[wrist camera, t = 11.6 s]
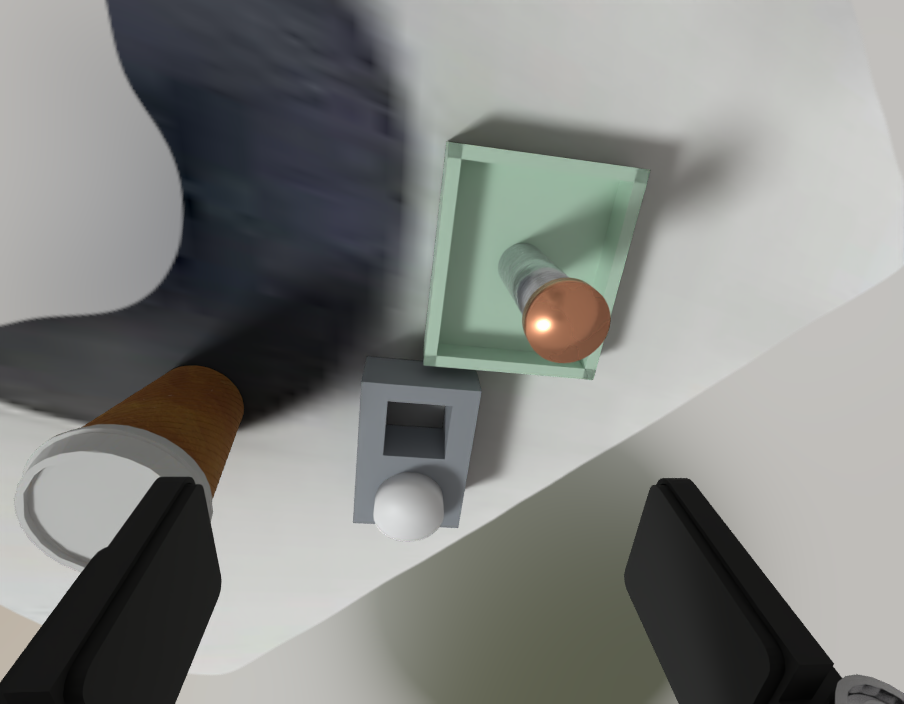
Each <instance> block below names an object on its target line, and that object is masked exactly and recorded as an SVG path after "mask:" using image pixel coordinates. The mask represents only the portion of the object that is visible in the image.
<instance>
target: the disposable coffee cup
mask: <svg viewBox="0 0 904 704" xmlns="http://www.w3.org/2000/svg"><path fill="white" fill-rule="evenodd" d="M243 414H244V405H243V400H242V397H241V395H240V392H239V390H238V389H237V387H236V386H235V385H234V384H233V383H232V382H231V381H230V380H229V379H228V378H227V377H226V376H224V375H223V374H221V373H219V372H217V371H215V370H213V369H210V368H207V367H202V366H196V365H195V366H182V367H178V368H175V369H173V370H171V371H169V372H168V373H166V374H165V375H163V376H162V377H160V378H159V379H157V380H155V381H154V382H152V383H151V384H149V385H147V386H146V387H144V388H143V389H141V390H140V391H138V392H136V393H135V394H133V395H132V396H130V397H129V398H127V399H125V400H124V401H122V402H121V403H119V404H117V405H116V406H114V407H113V408H111V409H110V410H108V411H107V412H105V413H104V414H102V415H100V416H99V417H97V418H95V419H94V420H93V421H91V422H89V423H88V424H86V425H85V426H83V427H81V428H78V429H74V430H70V431H67V432H64V433H62V434H59V435H56V436H55V437H53V438H51V439H50V440H48V441H46V442H45V443H44V444H42V445H41V446H40V447H39V448H38V449H36V450H35V452H34V453H33V454H32V455H31V457H30V458H29V459H28V461H27V463H26V466H25V468H24V471H23V476H22V478H21V480H20V481H19V483H18V484H17V489H16V493H15V497H14V505H15V514H16V516H17V519H18V521H19V524H20V526H21V528H22V529H23V531H24V532H25V534H26V535H27V537H28V538H29V539H30V541H31V542H32V543H33V544H34V545H35V546H36V547H37V548H39V549H40V550H41V551H42V552H43V553H45V554H46V555H47V556H48V557H50V558H52V559H53V560H55V561H57V562H58V563H60V564H62V565H64V566H66V567H68V568H70V569H73V570H75V571H78V572H82V571H83V570H84V568H85V567H86V565H87V564H88V563H89V561H90V560H91V559H92V558H93V557H94V555H95V554H96V553H97V552H98V551H100V550H101V549H103V548H105V547H108V545H109V544H110V543H111V541H112V540H113V538H114V537H115V536H116V534H117V533H118V531H119V530H120V529H121V527H122V526H123V525H124V523H125V522H126V520H127V519H128V518H129V516H130V515H131V513H132V512H133V511H134V509H135V508H136V506H137V505H138V504H139V502H140V501H141V500H142V498H143V497H144V495H145V494H146V493H147V491H148V490H149V488H150V487H151V486H152V484H153V483H154V482H155V480H156V479H157V478H159V477H192V478H193V479H194V481H195V484H201V485H202V486H203V488H204V492H205V497H206V502H207V507H208V512H209V517H210V523H211V518H212V514H213V508H212V498H213V497H214V493H215V491H216V488H217V485H218V483H219V480H220V477H221V475H222V471H223V469H224V466H225V463H226V460H227V458H228V455H229V452H230V450H231V447H232V444H233V442H234V438H235V436H236V433H237V430H238V427H239V425H240V422H241V420H242V417H243Z"/></svg>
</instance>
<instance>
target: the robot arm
mask: <svg viewBox="0 0 904 704" xmlns="http://www.w3.org/2000/svg"><path fill="white" fill-rule="evenodd" d="M624 578H625V585H626V589H627V591H628V593H629V596H630V598H631V600H632V602H633V604H634V607H635V609H636V611H637V613H638V615H639V617H640V620H641V622H642V624H643V626H644V628H645V631H646V633H647V635H648V637H649V639H650V642H651V644H652V646H653V648H654V650H655V653H656V655H657V657H658V659H659V661H660V664H661V666H662V668H663V670H664V672H665V674H666V677H667V679H668V681H669V683H670V685H671V688H672V690H673V692H674V694H675V697H676V699H677V701H678V703H679V704H904V693H902V692H901V691H899V690H897V689H896V688H894V687H892V686H891V685H889V684H887V683H885V682H882V681H880V680H877V679H875V678H872V677H868V676H862V675H851V676H845V677H844V678H842V677H841V676H840V675H839V674H838V672H837V671H836V670H835V668H834V667H833V665H834V663H833V662H832V660H831V659H830V658H829V657H828V655H827V654H826V653H825V651H824V650H823V649H822V648H821V646H820V645H819V644H818V642H817V641H816V640H815V639H814V637H813V636H812V635H811V633H810V632H809V631H808V630H807V628H806V627H805V626H804V624H803V623H802V622H801V621H800V619H799V618H798V617H797V615H796V614H795V613H794V612H793V610H792V609H791V608H790V606H789V605H788V604H787V602H786V601H785V600H784V599H783V598H782V596H781V595H780V593H779V592H778V591H777V590H776V588H775V587H774V586H773V584H772V583H771V582H770V581H769V579H768V578H767V577H766V576H765V574H764V573H763V572H762V570H761V569H760V568H759V566H758V565H757V564H756V563H755V561H754V560H753V559H752V557H751V556H750V555H749V554H748V552H747V551H746V550H745V548H744V547H743V546H742V544H741V543H740V542H739V541H738V539H737V538H736V537H735V536H734V534H733V533H732V532H731V530H730V529H729V528H728V526H727V525H726V524H725V523H724V522H723V520H722V519H721V517H720V516H719V515H718V514H717V512H716V511H715V510H714V509H713V507H712V506H711V505H710V504H709V502H708V501H707V499H706V498H705V497H704V496H703V494H702V493H701V492H700V490H699V489H698V488H697V486H696V485H695V484H694V483H693V482H692V481H691V480H690V479H687V478H662V479H660V480H659V481H658V482H657V484H656V485H653V486H652V487H651V488H650V490H649V493H648V496H647V500H646V503H645V506H644V510H643V513H642V516H641V520H640V523H639V526H638V530H637V533H636V536H635V539H634V543H633V546H632V549H631V553H630V556H629V559H628V563H627V566H626V569H625V574H624ZM220 590H221V574H220V569H219V563H218V558H217V553H216V548H215V543H214V538H213V533H212V528H211V523H210V517H209V512H208V507H207V502H206V497H205V492H204V488H203V486H202V485H201V484H195V481H194V479H193V478H192V477H159V478H157V479H156V480H155V482H154V483H153V484H152V486H151V487H150V488H149V490H148V491H147V493H146V494H145V495H144V497H143V498H142V500H141V501H140V502H139V504H138V505H137V506H136V508H135V509H134V511H133V512H132V513H131V515H130V516H129V518H128V519H127V520H126V522H125V523H124V525H123V526H122V527H121V529H120V530H119V531H118V533H117V534H116V536H115V537H114V538H113V540H112V541H111V543H110V544H109V545H108V547H105V548H103V549H101V550H100V551H98V552H97V553H96V554H95V555H94V557H93V558H92V559H91V560H90V561H89V563H88V564H87V565H86V567H85V568H84V570H83V571H82V572H81V574H80V575H79V576H78V578H77V579H76V580H75V582H74V583H73V584H72V586H71V587H70V589H69V590H68V591H67V593H66V594H65V595H64V597H63V598H62V599H61V601H60V602H59V603H58V605H57V606H56V608H55V609H54V610H53V612H52V613H51V614H50V616H49V617H48V618H47V620H46V621H45V622H44V624H43V625H42V627H41V628H40V629H39V631H38V632H37V633H36V635H35V636H34V637H33V639H32V640H31V641H30V643H29V644H28V646H27V647H26V649H25V650H24V651H23V652H22V654H21V655H20V656H19V658H18V659H17V660H16V662H15V663H14V665H13V666H12V667H11V669H10V670H9V671H8V673H7V674H6V675H5V677H4V678H3V680H2V681H1V682H0V704H175V702H176V700H177V697H178V695H179V693H180V690H181V688H182V685H183V683H184V680H185V678H186V676H187V673H188V671H189V668H190V666H191V663H192V661H193V659H194V656H195V654H196V651H197V649H198V646H199V644H200V641H201V639H202V637H203V634H204V632H205V629H206V627H207V624H208V622H209V619H210V617H211V615H212V612H213V610H214V607H215V605H216V602H217V600H218V597H219V594H220Z"/></svg>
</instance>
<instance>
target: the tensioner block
mask: <svg viewBox="0 0 904 704" xmlns="http://www.w3.org/2000/svg"><path fill="white" fill-rule="evenodd" d="M481 392H482V391H481V387H480V383H479V379H478V375H477V372H476V370H471V369H459V368H448V367H436V366H425V365H424V361H414V360H403V359H391V358H380V357H368V356H367V359H366V363H365V368H364V372H363V377H362V381H361V396H360V413H359V430H358V447H357V464H356V481H355V498H354V515H353V523H365V524H376V526H377V528H378V529H379V530H380V531H381V532H382V533H383V534H384V535H386V536H388V537H389V538H392V539H394V540H398V541H405V542H411V541H418V540H421V539H424V538H426V537H428V536H430V535H432V534H433V533H434V532H435V531H437V529H438V528H439V527H447V528H458V526H459V520H460V514H461V508H462V503H463V497H464V491H465V485H466V479H467V473H468V468H469V462H470V456H471V450H472V444H473V439H474V433H475V427H476V421H477V415H478V410H479V404H480V398H481ZM388 401H391V402H404V403H417V404H430V405H443V406H445V412H444V419H443V426H442V429H441V428H427V427H413V426H399V425H386V421H387V409H388Z"/></svg>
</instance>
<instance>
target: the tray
mask: <svg viewBox="0 0 904 704" xmlns="http://www.w3.org/2000/svg"><path fill="white" fill-rule="evenodd" d="M649 174H650V170H648V169H641V168H634V167H627V166H620V165H613V164H606V163H598V162H591V161H584V160H577V159H570V158H562V157H555V156H548V155H541V154H534V153H526V152H519V151H512V150H505V149H497V148H490V147H483V146H476V145H469V144H461V143H454V142H446V151H445V159H444V168H443V177H442V186H441V195H440V204H439V213H438V221H437V230H436V239H435V248H434V257H433V266H432V275H431V283H430V292H429V301H428V310H427V319H426V328H425V337H424V345H423V361H424V365H425V366H436V367H448V368H459V369H471V370H483V371H494V372H506V373H518V374H529V375H541V376H552V377H564V378H576V379H587V380H593V379H594V375H595V371H596V368H597V364H598V360H599V357H600V353H601V349H602V346H603V343H602V344H601V345H600V346H599V348H597V349H596V350H595V351H594V352H593V353H592V354H590V355H589V356H587V357H586V358H583V359H581V360H579V361H576V362H571V363H555V362H551V361H548V360H546V359H544V358H542V357H541V356H539V355H538V354H537V353H536V352H535V351H534V350H533V348H532V347H531V345H530V343H529V341H528V340H527V338H526V336H525V334H524V331H523V326H522V313H521V312H520V310H519V308H518V307H517V305H516V303H515V302H514V300H513V298H512V296H511V295H510V293H509V291H508V290H507V288H506V286H505V285H504V283H503V281H502V280H501V278H500V276H499V272H498V264H499V260H500V257H501V256H502V254H503V253H504V251H505V250H506V249H508V248H509V247H510V246H512V245H514V244H518V243H529V244H532V245H534V246H536V247H537V248H538V249H539V250H540V251H541V252H543V253H544V254H545V255H546V256H547V257H548V258H549V259H550V260H551V261H552V262H553V263H554V264H555V265H557V266H558V267H559V268H560V269H561V270H562V271H563V272H564V273H565V274H566V275H567V276H568V277H570V278H576V279H580V280H583V281H585V282H587V283H588V284H590V285H591V286H592V287H593V288H594V289H596V290H597V291H598V292H599V293H600V294H601V295H602V296H603V297H604V299H605V300H606V302H607V304H608V307H609V310H610V317H611V313H612V309H613V306H614V302H615V298H616V295H617V291H618V287H619V284H620V280H621V276H622V273H623V269H624V265H625V262H626V258H627V254H628V251H629V247H630V243H631V240H632V236H633V232H634V229H635V225H636V221H637V218H638V214H639V211H640V207H641V203H642V200H643V196H644V192H645V189H646V185H647V181H648V178H649ZM603 342H604V341H603Z"/></svg>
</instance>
